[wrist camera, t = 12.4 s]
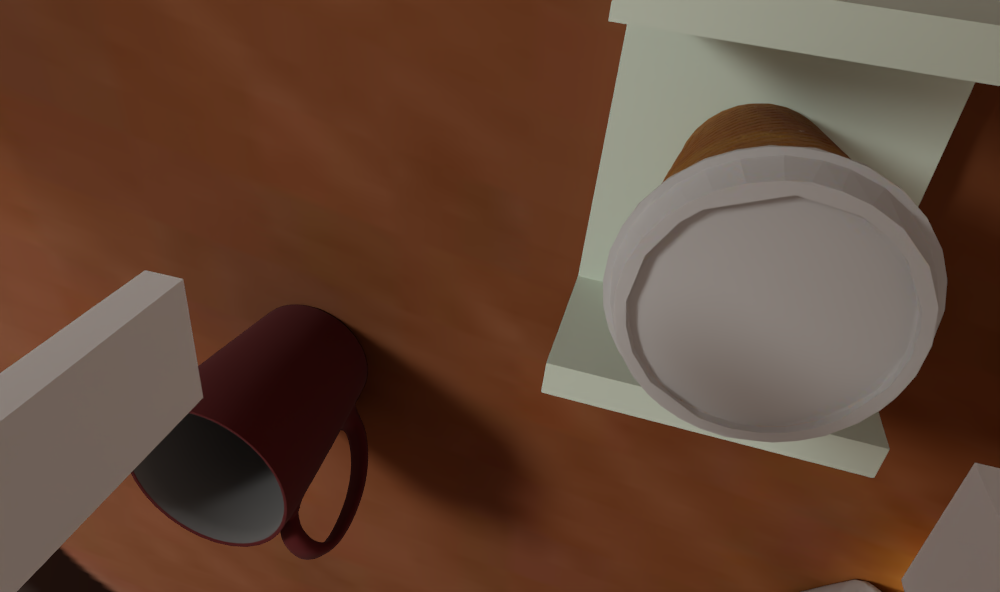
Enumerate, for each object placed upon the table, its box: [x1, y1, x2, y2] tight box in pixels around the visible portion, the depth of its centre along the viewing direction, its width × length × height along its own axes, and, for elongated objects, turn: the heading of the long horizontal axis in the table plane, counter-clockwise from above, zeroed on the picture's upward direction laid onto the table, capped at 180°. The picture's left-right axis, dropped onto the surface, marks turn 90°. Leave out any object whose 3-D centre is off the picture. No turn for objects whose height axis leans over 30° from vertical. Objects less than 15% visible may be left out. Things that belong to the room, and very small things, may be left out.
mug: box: [131, 305, 368, 560], centre depth 40 cm, size 12×9×11 cm
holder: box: [541, 0, 1000, 478], centre depth 28 cm, size 16×13×9 cm
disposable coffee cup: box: [603, 103, 947, 443], centre depth 25 cm, size 10×10×12 cm
